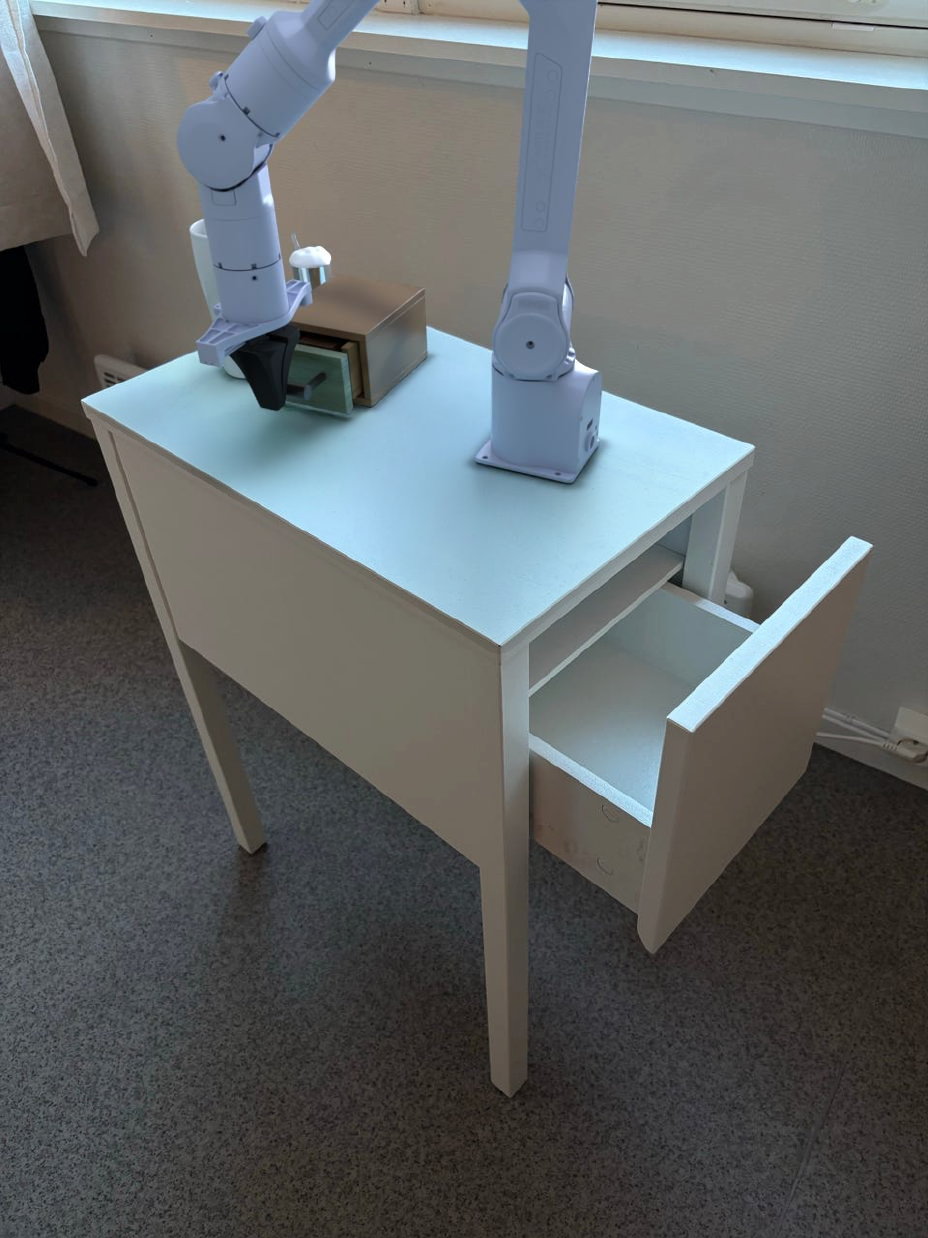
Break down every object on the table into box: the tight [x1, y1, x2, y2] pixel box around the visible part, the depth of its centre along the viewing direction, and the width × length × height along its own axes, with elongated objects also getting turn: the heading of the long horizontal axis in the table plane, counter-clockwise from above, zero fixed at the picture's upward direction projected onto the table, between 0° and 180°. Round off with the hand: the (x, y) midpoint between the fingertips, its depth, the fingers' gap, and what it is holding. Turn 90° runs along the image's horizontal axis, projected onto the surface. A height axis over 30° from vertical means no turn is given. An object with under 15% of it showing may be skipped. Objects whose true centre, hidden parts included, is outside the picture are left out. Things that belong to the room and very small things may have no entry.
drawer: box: [286, 330, 364, 415], centre depth 91 cm, size 16×9×6 cm, turn 155°
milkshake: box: [288, 232, 332, 291], centre depth 103 cm, size 5×5×10 cm
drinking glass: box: [188, 218, 246, 379], centre depth 94 cm, size 7×7×15 cm
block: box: [298, 332, 350, 353], centre depth 92 cm, size 4×4×4 cm
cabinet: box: [287, 273, 429, 408], centre depth 95 cm, size 13×11×8 cm
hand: (272, 406), depth 85 cm, fingers closed
